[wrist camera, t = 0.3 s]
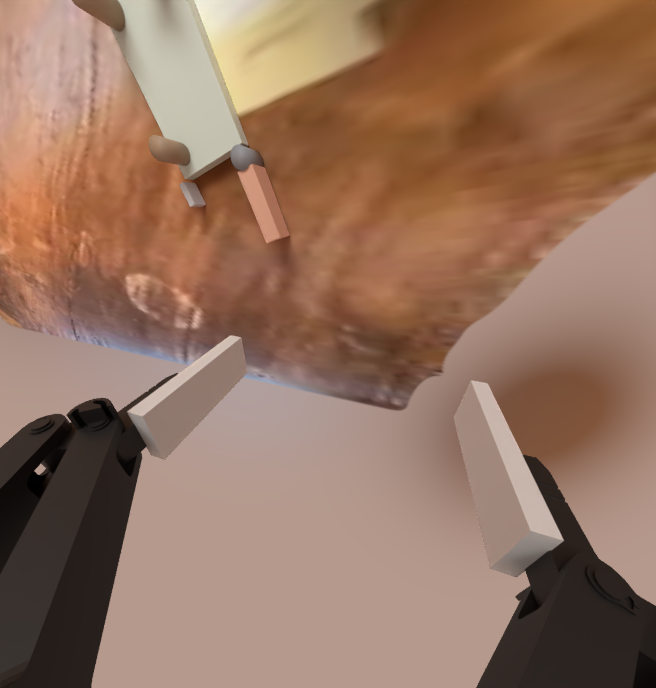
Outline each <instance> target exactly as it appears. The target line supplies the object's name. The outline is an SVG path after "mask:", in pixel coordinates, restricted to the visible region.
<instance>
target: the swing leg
mask: <svg viewBox="0 0 656 688" xmlns="http://www.w3.org/2000/svg"><path fill="white" fill-rule="evenodd" d="M230 156H231V161H232V164H233V165H234V167H235V168H236V169H238V170H240V171H239V172H238V175H239V177H240V180H241V182H242V184H243V187H244V189H245V192H246V194H247V197H248V199H249V202H250V204H251V206H252V209H253V211H254V214H255V216H256V219H257V221H258V223H259V226H260V228H261V231H262V233H263V236H264V238H265V241H266V243H269V242H273V241H277V240H280V239H282V238H285V237H287V236H290V234H289V232H288V229H287V226H286V224H285V221H284V218H283V215H282V213H281V210H280V207H279V204H278V202H277V199H276V196H275V194H274V191H273V188H272V185H271V183H270V180H269V177H268V175H267V172H266V169H265V168H264V167H263V159H262V157H261V155H260V154H259V153H258V152H257V151H255V150H252V149H250V148H247V147H245V146H242V145H239V144H237V145H235V146H233V148H232V150H231V154H230Z"/></svg>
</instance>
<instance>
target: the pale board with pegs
mask: <svg viewBox="0 0 656 688" xmlns="http://www.w3.org/2000/svg"><path fill="white" fill-rule="evenodd" d="M72 1H73V3H74V4H75V5H76V6H78V7H79V8H81V9H82V10H84V11H86V12H87V13H89V14H90V15H92V16H94V17H95V18H97V19H98V20H100V21H102V22H103V23H105V24H106V25H108V26H110V27H111V29H112V32H113V34H114V36H115V38H116V40H117V42H118V44H119V46H120V48H121V50H122V52H123V54H124V56H125V58H126V60H127V62H128V64H129V66H130V68H131V70H132V72H133V74H134V76H135V78H136V80H137V82H138V84H139V86H140V88H141V90H142V92H143V95H144V97H145V99H146V101H147V103H148V105H149V107H150V109H151V111H152V113H153V115H154V117H155V119H156V121H157V123H158V125H159V127H160V129H161V131H162V133H163V135H164V137H165V138H164V137H160V136H157V135H152V136H151V137H150V139H149V148H150V151H151V153H152V155H153V156H154V158H155V159H157V160H158V161H162V162H167V163H172V164H178V166H179V168H180V170H181V172H182V174H183V176H184V178H185V179H188V180H194V179H196V178H197V177H199V176H201V175H202V174H204V173H205V172H207V171H209V170H210V169H212V168H214V167H215V166H217V165H218V164H220V163H222V162H223V161H225V160H226V159H228V158H230V157H231V156H230V154H231V150H232V148H233V146H235V145H237V144H239V145H242V146H245V147H247V146H249V145H248V142H247V139H246V137H245V134H244V132H243V129H242V126H241V124H240V121H239V118H238V116H237V113H236V110H235V108H234V105H233V103H232V100H231V97H230V95H229V92H228V89H227V87H226V84H225V81H224V79H223V76H222V73H221V71H220V68H219V66H218V63H217V60H216V58H215V55H214V52H213V50H212V47H211V44H210V42H209V39H208V37H207V34H206V31H205V29H204V26H203V23H202V21H201V18H200V15H199V13H198V10H197V8H196V5H195V2H194V0H72ZM179 185H180V187H181V189H182V191H183V193H184V195H185V197H186V199H187V201H188V203H189V205H190V207H203V206H204V205H206V204H205V201H204V199H203V197H202V195H201V193H200V191H199V189H198V187H197V185H196V183H189V182H183V183H181V184H179Z"/></svg>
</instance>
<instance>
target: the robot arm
mask: <svg viewBox="0 0 656 688" xmlns="http://www.w3.org/2000/svg"><path fill="white" fill-rule="evenodd" d="M246 373H247V369H246V363H245V357H244V351H243V345H242V339H241V337H236V336H231V335H230V336H229V337H228V338H226V339H225V340H224V341H222V342H221V343H220V344H218V345H217V346H215V347H214V348H213V349H211V350H210V351H209V352H207V353H206V354H205V355H203V356H202V357H201V358H199V359H198V360H196V361H195V362H194V363H192V364H191V365H190V366H188V367H187V368H186V369H184V370H183V371H182V372H180V373H179V374H178V373H176V374H174V375H171V376H169V377H167V378H165V379H164V380H162V381H161V382H159V383H158V384H157V385H156V386H154V387H152V388H151V389H149V391H148V392H145V393H144V394H143V395H141V396H140V397H138V398H137V399H136V400H134V401H133V402H131V403H130V404H129V405H127V406H126V407H124V408H123V409H122V410H120V411H119V412H117V411H116V409H115V408H114V406H113V404H112V403H111V401H110V400H109V399H106V398H97V399H93V400H89V401H86V402H84V403H82V404H80V405H78V406H76V407H75V408H73V409H72V410H71V411H70V412H69V413H68V414H67V416H68V418H69V419H70V420H71V422H72V423H69V421H68V420H67V419H66V417H65V416H63V415H62V414H53V415H48V416H45V417H42V418H39V419H36V420H35V421H33V422H31V423H29V424H28V425H26V426H25V427H23V428H22V429H21V430H20V431H19V432H18V433H17V434H15V435H14V436H13V437H12V438H11V439H10V440H9V441H8V442H6V443H5V444H4V445H3V446H2V447H1V448H0V688H91V684H92V677H93V673H94V668H95V664H96V659H97V654H98V651H99V646H100V642H101V637H102V633H103V628H104V624H105V620H106V615H107V611H108V607H109V602H110V598H111V593H112V589H113V584H114V580H115V576H116V571H117V567H118V562H119V558H120V553H121V549H122V544H123V540H124V535H125V531H126V527H127V522H128V518H129V513H130V509H131V505H132V500H133V496H134V491H135V487H136V482H137V478H138V474H139V469H140V465H141V460H142V454H141V451H142V450H143V449H144V448H145V447H147V449H148V450H149V452H150V454H151V455H153V456H155V457H158V458H162V459H166V458H167V457H168V455H170V454H171V453H172V451H173V450H174V449H175V448H176V447H177V446H178V445H179V444H180V443H181V442H182V441H183V440H184V439H185V438H186V437H187V436H188V435H189V434H190V432H191V431H192V430H193V429H194V428H195V427H196V426H197V425H198V424H199V423H200V422H201V421H202V420H203V419H204V418H205V417H206V416H207V415H208V413H209V412H210V411H211V410H212V409H213V408H214V407H215V406H216V405H217V404H218V403H219V402H220V401H221V400H222V399H223V398H224V396H226V394H227V393H228V392H229V391H230V390H231V389H232V388H233V387H234V386H235V385H236V384H237V383H238V382H239V381H240V380H241V379H242V378H243V377H244V375H245V374H246ZM454 422H455V426H456V430H457V434H458V438H459V442H460V446H461V451H462V455H463V459H464V463H465V467H466V471H467V475H468V479H469V484H470V488H471V492H472V496H473V500H474V504H475V508H476V512H477V516H478V520H479V525H480V529H481V533H482V537H483V541H484V545H485V549H486V553H487V557H488V561H489V565H490V569H493V570H496V571H499V572H502V573H505V574H508V575H511V576H514V577H518V576H519V575H520V574H521V573H523V572H524V571H526V574H527V577H528V579H529V582H530V586H529V587H528V588H526V589H525V590H523V591H522V592H520V593H519V594H518V595H517V596H516V598H517V599H518V600H519V601H520V600H521V601H520V603H519V605H518V607H517V609H516V611H515V613H514V614H513V616H512V618H511V620H510V622H509V624H508V626H507V628H506V630H505V632H504V634H503V636H502V638H501V640H500V642H499V644H498V646H497V648H496V650H495V652H494V654H493V656H492V658H491V660H490V662H489V663H488V666H487V668H486V669H485V672H484V673H483V675H482V677H481V679H480V681H479V683H478V685H477V687H476V688H656V606H655V605H653V604H651V603H650V602H648V601H646V600H644V599H643V598H641V597H640V596H638V595H637V594H636V593H635V592H634V591H633V590H632V588H631V587H630V586H629V585H628V583H627V582H626V581H625V580H624V579H623V578H622V577H621V576H620V575H619V574H618V573H617V572H616V571H615V570H614V569H613V568H611V567H610V566H609V565H607V564H605V563H604V562H603V561H601V560H600V559H599V558H598V557H597V555H596V554H595V552H594V550H593V548H592V547H591V545H590V543H589V541H588V540H587V538H586V536H585V534H584V532H583V531H582V529H581V527H580V525H579V524H578V522H577V520H576V518H575V516H574V515H573V513H572V511H571V509H570V507H569V506H568V504H567V503H566V502H565V499H564V497H563V495H562V493H561V491H560V490H559V489H558V486H557V484H556V483H555V480H554V479H553V477H552V475H551V473H550V472H549V471H548V470H547V468H546V467H544V465H543V464H542V463H541V462H540V461H539V460H538V459H537V458H535V457H531V456H526V455H522V454H521V451H520V449H519V447H518V445H517V443H516V441H515V439H514V437H513V435H512V433H511V431H510V429H509V427H508V425H507V422H506V420H505V418H504V416H503V414H502V412H501V410H500V408H499V406H498V404H497V402H496V400H495V398H494V396H493V394H492V392H491V389H490V387H489V385H488V384H487V383H483V382H477V381H472V380H471V381H470V383H469V385H468V388H467V390H466V392H465V394H464V397H463V399H462V401H461V403H460V405H459V408H458V410H457V412H456V414H455V416H454ZM40 464H42V465H43V466H44V467H45V468H46V469H45V471H44V472H43V473H42V474H40V475H38V474H36V472H34V470H35V469H36V468H37V467H38V466H39V465H40Z"/></svg>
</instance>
